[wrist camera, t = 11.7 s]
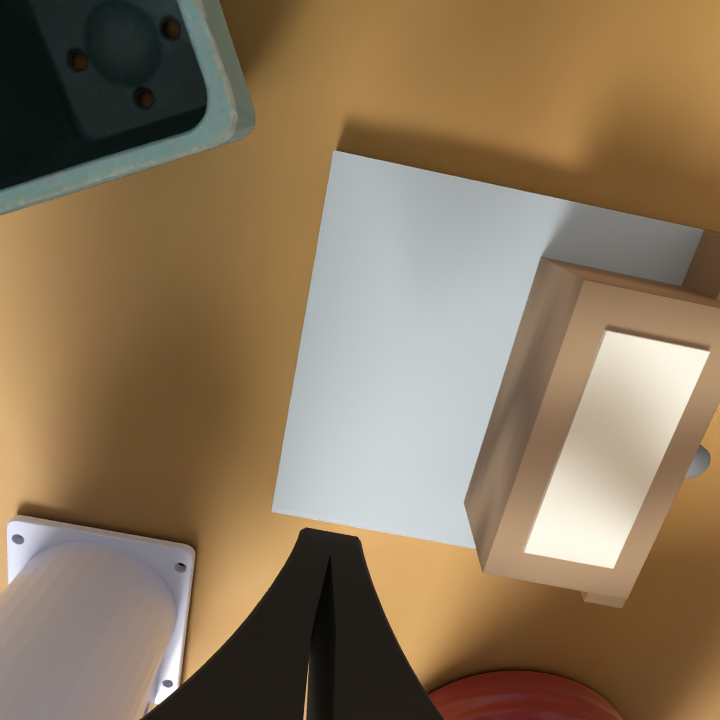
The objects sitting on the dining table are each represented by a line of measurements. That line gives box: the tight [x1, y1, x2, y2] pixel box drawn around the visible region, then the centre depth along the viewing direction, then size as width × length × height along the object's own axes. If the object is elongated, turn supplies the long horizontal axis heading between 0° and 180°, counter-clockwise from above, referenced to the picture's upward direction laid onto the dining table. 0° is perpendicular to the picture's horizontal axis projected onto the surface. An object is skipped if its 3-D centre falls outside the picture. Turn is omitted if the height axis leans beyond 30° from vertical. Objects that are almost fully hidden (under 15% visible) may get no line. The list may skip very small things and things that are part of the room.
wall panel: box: [271, 150, 720, 608], centre depth 19 cm, size 14×14×4 cm
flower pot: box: [0, 0, 255, 215], centre depth 13 cm, size 9×9×9 cm
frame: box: [464, 257, 720, 599], centre depth 18 cm, size 10×5×4 cm, turn 169°
